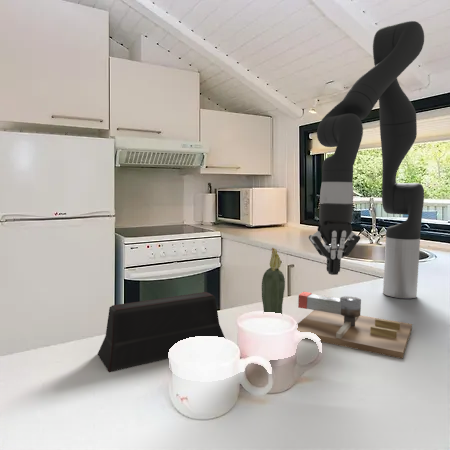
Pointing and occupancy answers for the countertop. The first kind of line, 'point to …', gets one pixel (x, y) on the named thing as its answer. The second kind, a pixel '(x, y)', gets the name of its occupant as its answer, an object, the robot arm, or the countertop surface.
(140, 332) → the barrier
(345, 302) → the bar
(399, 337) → the door board
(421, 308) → the countertop surface
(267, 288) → the vegetable
